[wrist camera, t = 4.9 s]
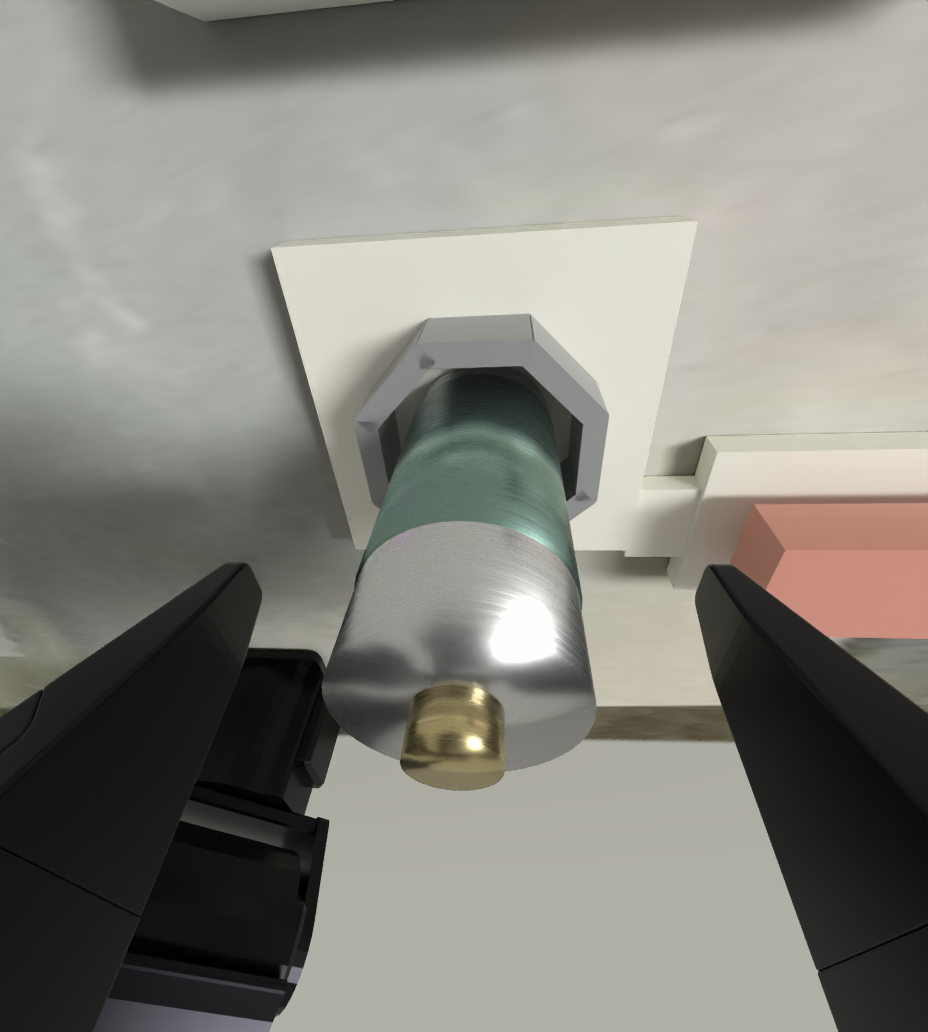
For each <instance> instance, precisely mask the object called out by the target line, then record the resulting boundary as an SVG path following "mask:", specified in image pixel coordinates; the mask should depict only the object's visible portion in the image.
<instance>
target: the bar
mask: <svg viewBox="0 0 928 1032" xmlns="http://www.w3.org/2000/svg"><path fill="white" fill-rule="evenodd" d="M730 564H731V565H733V566H735V567H736V568H738V569H739V570H740V571H742V572H743V573H744V574H745V575H747V576H748V577H749V578H751V579H752V580H753V581H755V582H756V583H757V584H759V585H760V586H761V587H763V588H764V589H765V590H767V591H768V592H769V593H770V594H772V595H773V596H774V597H776V598H777V599H778V600H780V601H781V602H782V603H784V604H785V605H786V606H788V607H789V608H790V609H792V610H793V611H794V612H795V613H797V614H798V615H799V616H801V617H802V618H803V619H805V620H806V621H807V622H809V623H810V624H811V625H813V626H814V627H815V628H816V629H818V630H819V631H820V632H822V633H823V634H824V635H826V636H827V637H860V638H914V639H928V503H871V504H754V505H753V507H752V510H751V512H750V515H749V517H748V520H747V522H746V524H745V527H744V529H743V532H742V534H741V537H740V539H739V542H738V544H737V547H736V549H735V551H734V554H733V556H732V559H731V561H730Z"/></svg>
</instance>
